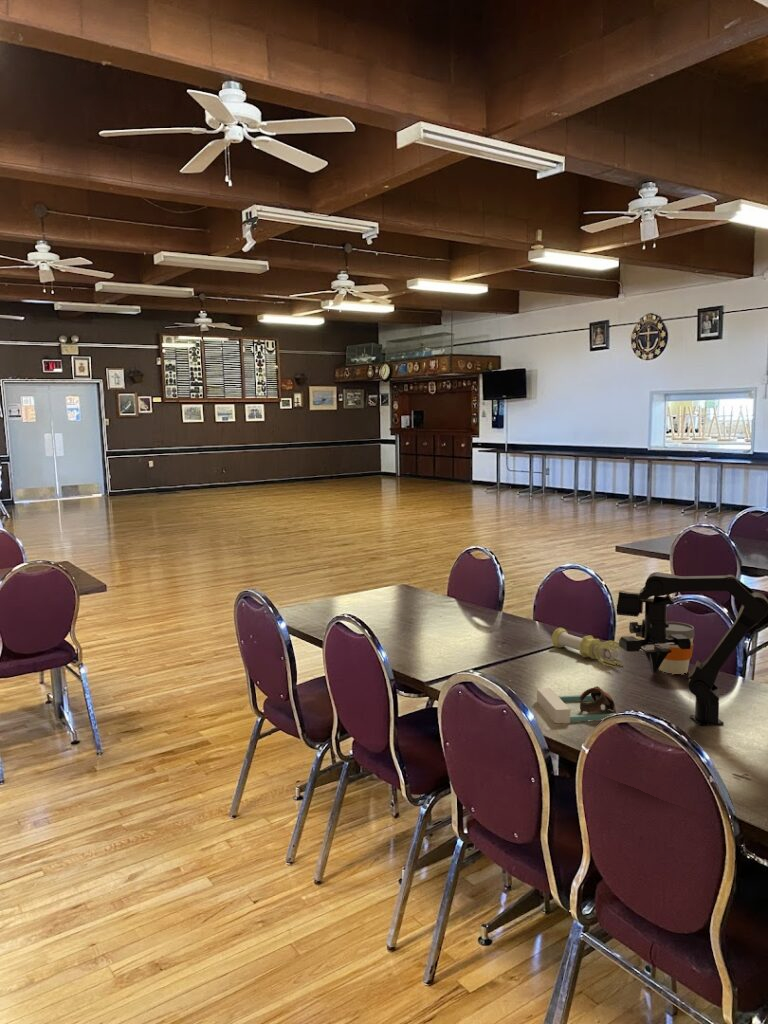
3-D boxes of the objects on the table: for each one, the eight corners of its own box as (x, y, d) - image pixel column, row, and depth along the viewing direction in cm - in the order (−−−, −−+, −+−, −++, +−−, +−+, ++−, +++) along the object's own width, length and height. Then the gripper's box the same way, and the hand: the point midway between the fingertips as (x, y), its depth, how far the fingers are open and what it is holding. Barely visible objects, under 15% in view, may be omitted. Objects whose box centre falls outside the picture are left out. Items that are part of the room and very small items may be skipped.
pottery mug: (621, 721, 204) (609, 699, 202) (589, 733, 207) (576, 710, 205) (615, 696, 215) (603, 674, 213) (584, 707, 218) (572, 685, 216)
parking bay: (624, 720, 204) (624, 706, 203) (555, 724, 202) (556, 709, 201) (600, 698, 220) (600, 685, 220) (536, 701, 218) (536, 688, 218)
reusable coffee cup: (644, 667, 249) (646, 623, 247) (674, 662, 253) (675, 619, 251) (671, 678, 237) (672, 633, 235) (702, 673, 241) (703, 628, 240)
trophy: (549, 627, 271) (612, 646, 245) (564, 624, 275) (628, 643, 249) (549, 649, 272) (612, 670, 246) (564, 646, 276) (628, 666, 250)
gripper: (673, 610, 214) (671, 662, 216) (611, 612, 212) (610, 664, 214) (693, 619, 203) (691, 674, 205) (628, 622, 201) (626, 677, 203)
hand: (654, 672), depth 207 cm, fingers closed
